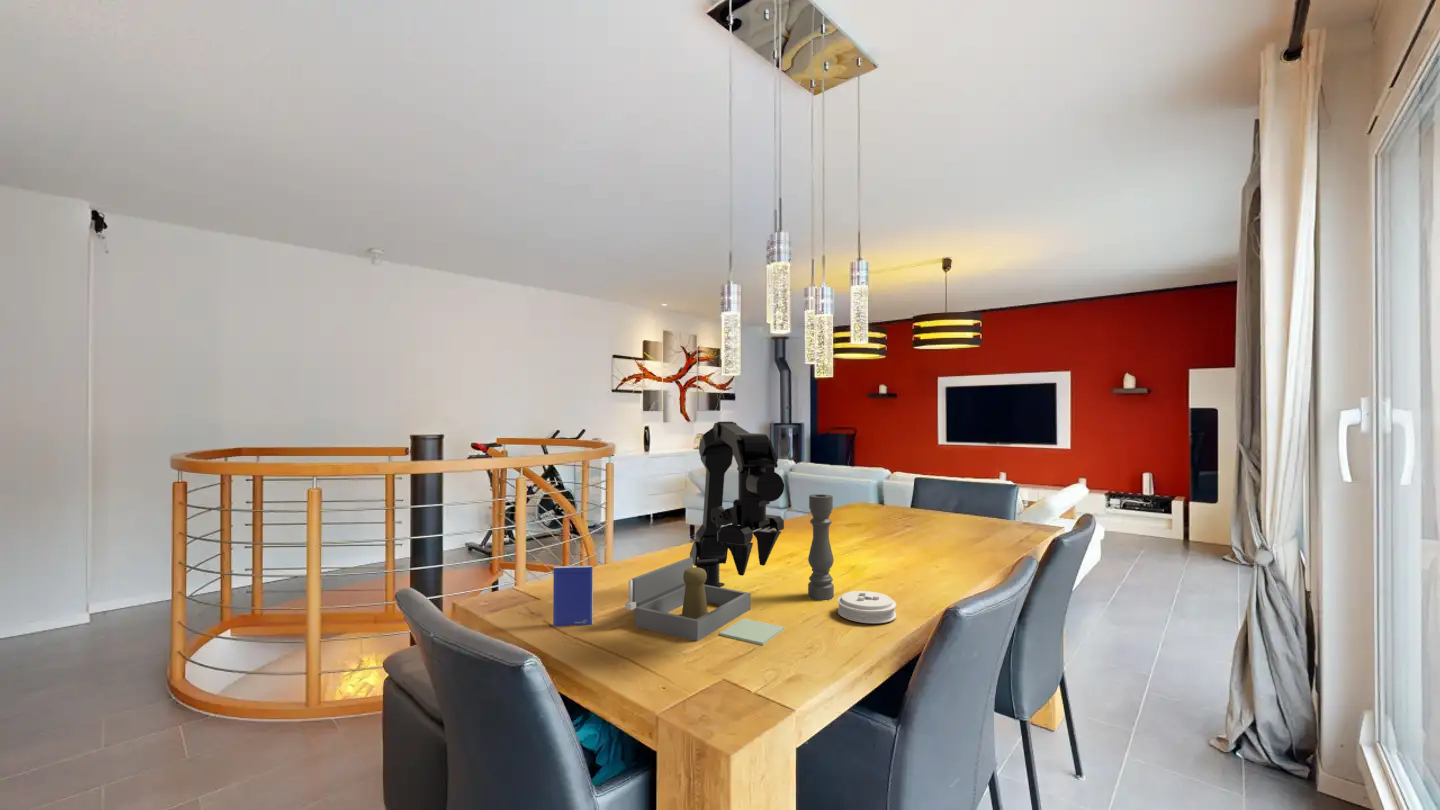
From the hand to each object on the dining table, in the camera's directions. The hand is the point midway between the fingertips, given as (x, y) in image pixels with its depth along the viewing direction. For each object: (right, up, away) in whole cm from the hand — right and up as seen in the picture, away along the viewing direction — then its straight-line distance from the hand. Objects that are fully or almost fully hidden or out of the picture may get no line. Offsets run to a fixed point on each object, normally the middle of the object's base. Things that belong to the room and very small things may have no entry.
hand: (752, 570), depth 125 cm
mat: (0, -13, 0) cm, 13 cm away
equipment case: (-13, -13, +8) cm, 20 cm away
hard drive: (-38, -13, +4) cm, 41 cm away
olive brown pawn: (-12, -13, +8) cm, 20 cm away
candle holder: (+18, -13, +23) cm, 32 cm away
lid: (+26, -14, +10) cm, 31 cm away
